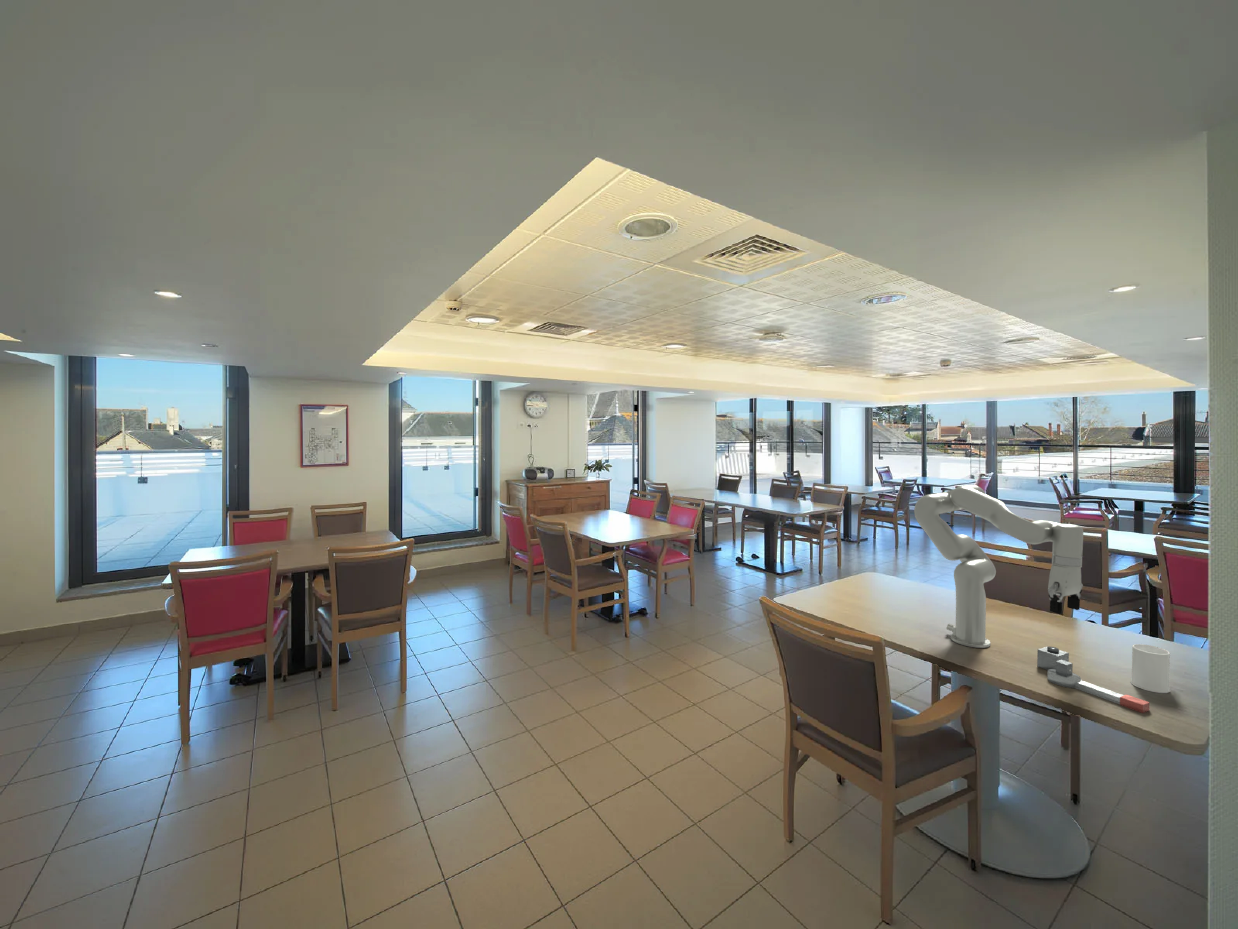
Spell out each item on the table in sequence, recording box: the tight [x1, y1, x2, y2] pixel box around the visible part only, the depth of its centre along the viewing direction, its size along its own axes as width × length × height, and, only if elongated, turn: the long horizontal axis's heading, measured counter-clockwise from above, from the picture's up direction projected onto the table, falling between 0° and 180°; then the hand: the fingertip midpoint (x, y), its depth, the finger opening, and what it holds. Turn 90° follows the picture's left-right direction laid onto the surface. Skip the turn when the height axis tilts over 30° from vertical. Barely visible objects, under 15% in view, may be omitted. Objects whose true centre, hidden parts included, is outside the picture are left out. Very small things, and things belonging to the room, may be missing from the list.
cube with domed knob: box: [1036, 646, 1070, 671], centre depth 170 cm, size 6×6×7 cm
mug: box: [1130, 643, 1171, 694], centre depth 156 cm, size 12×8×12 cm
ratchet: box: [1047, 660, 1150, 714], centre depth 153 cm, size 24×8×6 cm, turn 22°
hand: (1064, 610), depth 168 cm, fingers open, 9 cm apart
